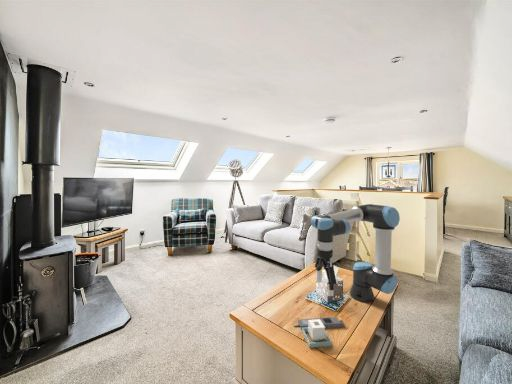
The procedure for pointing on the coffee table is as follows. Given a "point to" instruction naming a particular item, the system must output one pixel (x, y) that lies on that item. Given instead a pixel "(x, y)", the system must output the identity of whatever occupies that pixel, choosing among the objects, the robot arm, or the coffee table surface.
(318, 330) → the charger
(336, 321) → the power strip
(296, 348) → the coffee table surface
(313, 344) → the teal square frame
